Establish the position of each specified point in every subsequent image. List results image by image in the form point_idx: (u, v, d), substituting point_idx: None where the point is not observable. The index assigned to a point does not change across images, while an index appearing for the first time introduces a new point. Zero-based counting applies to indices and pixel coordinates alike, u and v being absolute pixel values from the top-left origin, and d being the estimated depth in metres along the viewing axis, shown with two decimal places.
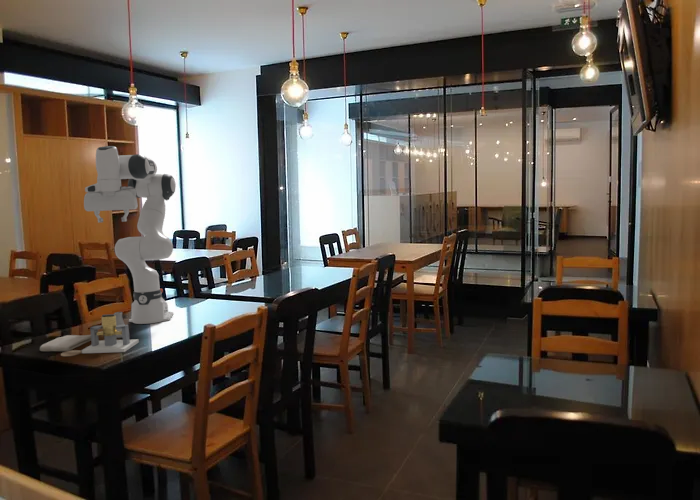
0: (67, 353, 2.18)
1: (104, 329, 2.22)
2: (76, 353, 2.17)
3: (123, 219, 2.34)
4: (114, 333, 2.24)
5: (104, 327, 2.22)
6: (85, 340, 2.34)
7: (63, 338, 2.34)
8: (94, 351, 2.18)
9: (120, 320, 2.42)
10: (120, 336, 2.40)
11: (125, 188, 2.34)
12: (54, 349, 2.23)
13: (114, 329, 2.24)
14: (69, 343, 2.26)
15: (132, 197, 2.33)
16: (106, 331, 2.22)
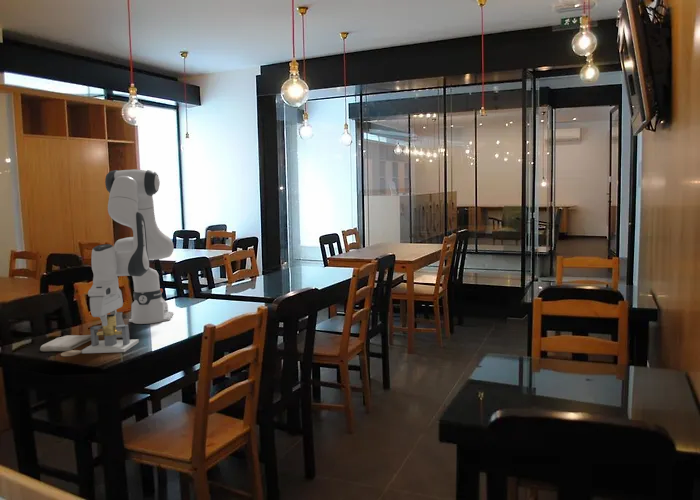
0: (67, 353, 2.18)
1: (104, 329, 2.22)
2: (76, 353, 2.17)
3: None
4: (114, 333, 2.24)
5: (104, 327, 2.22)
6: (85, 340, 2.35)
7: (63, 338, 2.34)
8: (94, 351, 2.18)
9: (120, 320, 2.42)
10: (120, 336, 2.40)
11: None
12: (55, 349, 2.23)
13: (114, 329, 2.24)
14: (69, 343, 2.26)
15: (121, 294, 2.33)
16: (106, 331, 2.22)
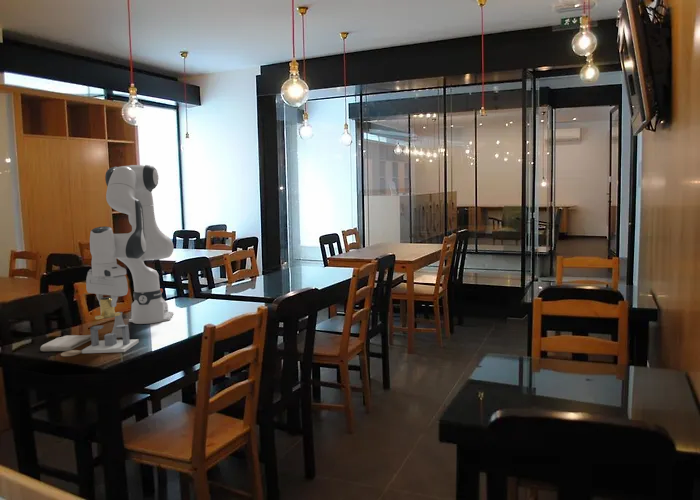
0: (67, 353, 2.18)
1: (108, 311, 2.22)
2: (76, 353, 2.17)
3: None
4: (115, 315, 2.25)
5: (109, 310, 2.22)
6: (85, 340, 2.35)
7: (63, 338, 2.34)
8: (94, 351, 2.18)
9: (120, 320, 2.42)
10: (120, 336, 2.40)
11: None
12: (55, 349, 2.23)
13: (114, 311, 2.25)
14: (70, 343, 2.26)
15: None
16: (111, 313, 2.23)
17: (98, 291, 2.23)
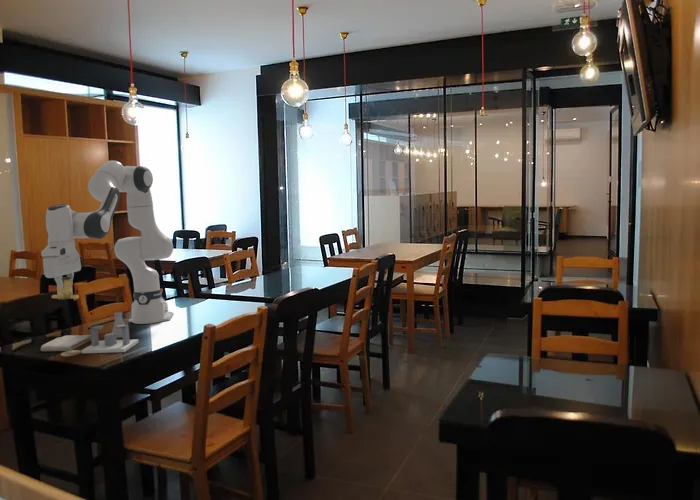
0: (67, 353, 2.18)
1: (58, 292, 2.14)
2: (76, 353, 2.17)
3: None
4: (69, 297, 2.15)
5: (58, 290, 2.14)
6: (85, 340, 2.35)
7: (63, 338, 2.34)
8: (94, 351, 2.18)
9: (120, 320, 2.42)
10: (120, 336, 2.40)
11: None
12: (55, 349, 2.23)
13: (69, 293, 2.15)
14: (70, 343, 2.26)
15: (79, 258, 2.24)
16: (60, 295, 2.14)
17: None
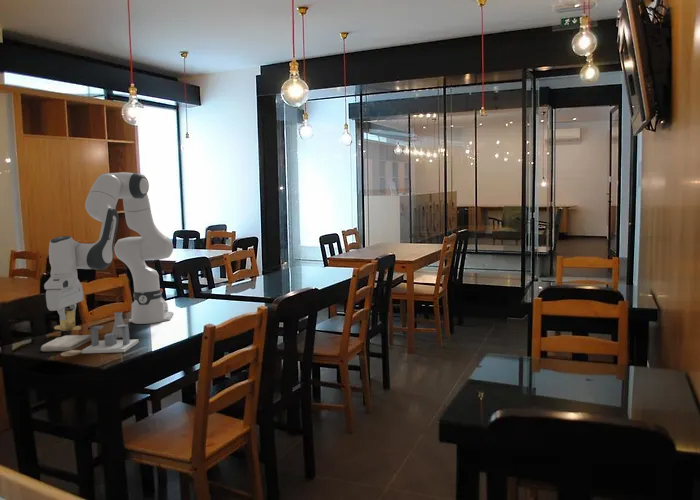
0: (67, 353, 2.18)
1: (61, 323, 2.15)
2: (76, 353, 2.17)
3: None
4: (71, 328, 2.16)
5: (61, 322, 2.15)
6: (85, 340, 2.35)
7: (63, 338, 2.34)
8: (94, 351, 2.18)
9: (120, 320, 2.42)
10: (120, 336, 2.40)
11: None
12: (55, 349, 2.23)
13: (72, 324, 2.16)
14: (70, 343, 2.26)
15: (82, 288, 2.25)
16: (63, 326, 2.15)
17: None
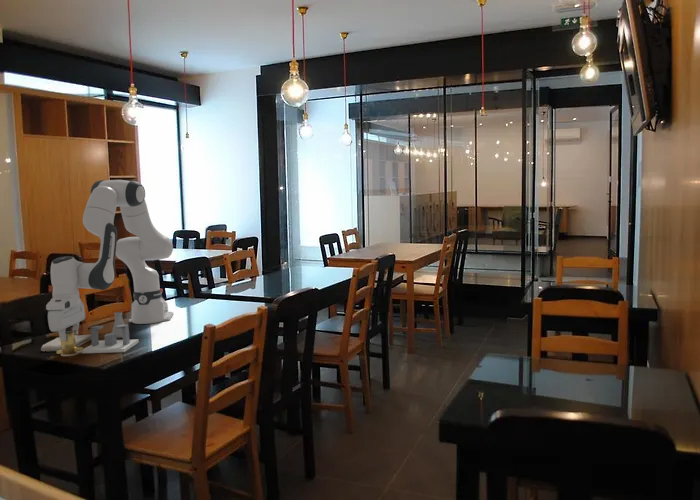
0: None
1: (62, 347, 2.16)
2: (76, 353, 2.17)
3: (77, 332, 2.22)
4: (73, 350, 2.17)
5: (62, 345, 2.16)
6: (85, 340, 2.35)
7: None
8: (94, 351, 2.18)
9: (120, 320, 2.42)
10: (120, 336, 2.40)
11: None
12: (56, 349, 2.23)
13: (73, 346, 2.17)
14: None
15: (83, 307, 2.26)
16: (65, 349, 2.16)
17: None
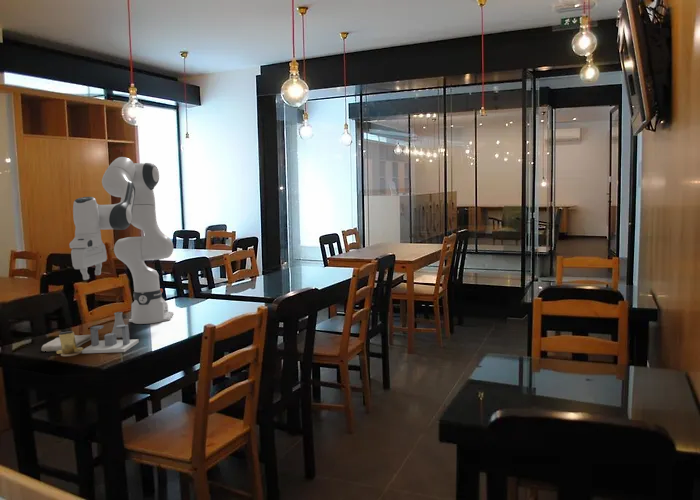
0: None
1: (62, 347, 2.16)
2: (76, 353, 2.17)
3: (100, 272, 2.27)
4: (73, 350, 2.17)
5: (62, 345, 2.16)
6: (85, 340, 2.35)
7: None
8: (94, 351, 2.18)
9: (120, 320, 2.42)
10: (120, 336, 2.40)
11: None
12: (56, 349, 2.23)
13: (73, 346, 2.17)
14: None
15: (105, 249, 2.30)
16: (65, 349, 2.16)
17: None
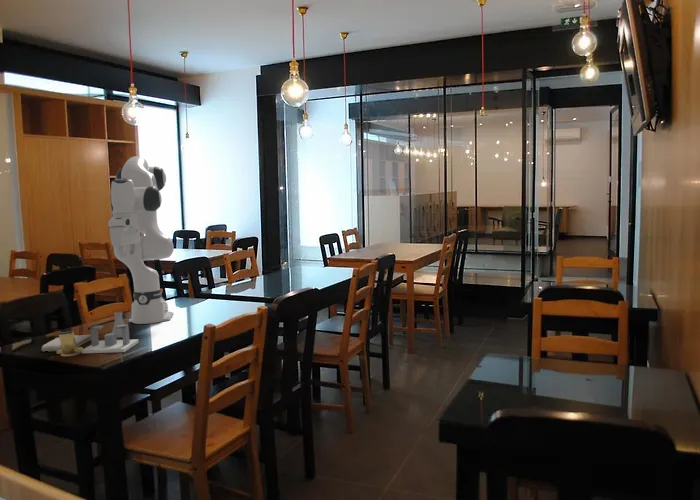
0: None
1: (62, 347, 2.16)
2: (76, 353, 2.17)
3: (134, 252, 2.34)
4: (73, 350, 2.17)
5: (62, 345, 2.16)
6: (85, 340, 2.35)
7: None
8: (94, 351, 2.18)
9: (120, 320, 2.42)
10: (120, 336, 2.40)
11: None
12: (57, 349, 2.23)
13: (73, 346, 2.17)
14: None
15: (139, 230, 2.38)
16: (65, 349, 2.16)
17: None
